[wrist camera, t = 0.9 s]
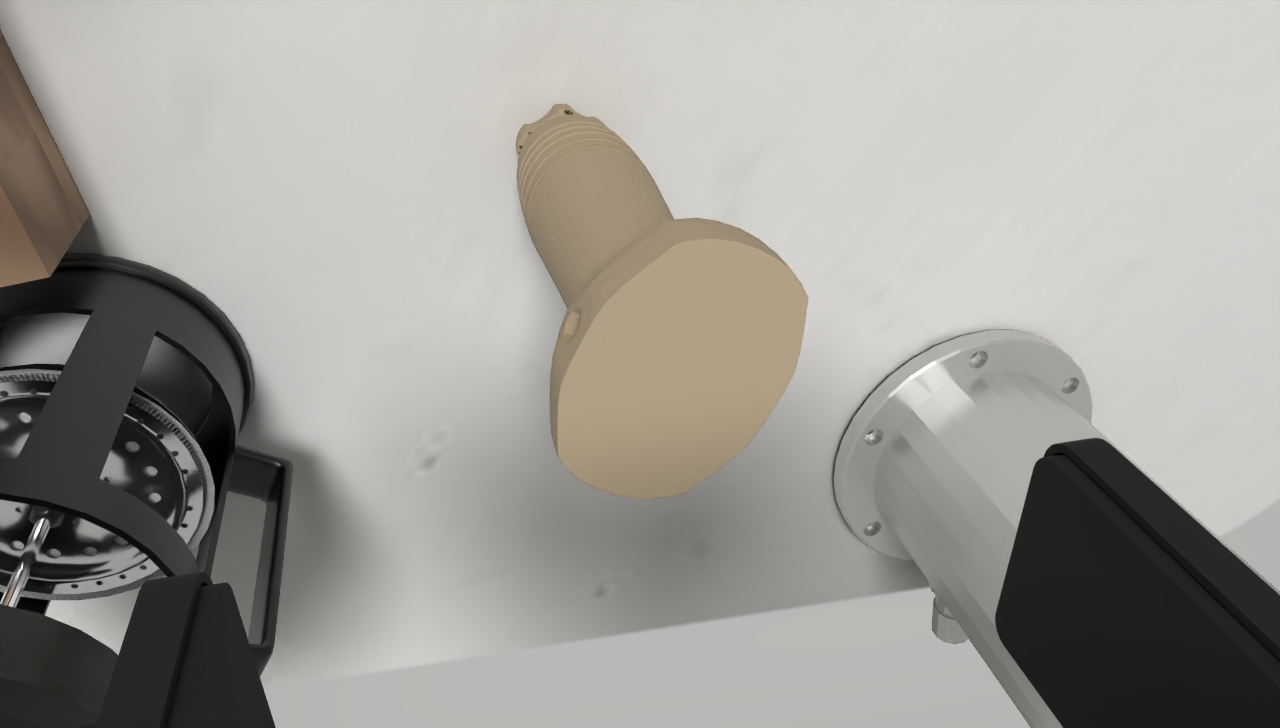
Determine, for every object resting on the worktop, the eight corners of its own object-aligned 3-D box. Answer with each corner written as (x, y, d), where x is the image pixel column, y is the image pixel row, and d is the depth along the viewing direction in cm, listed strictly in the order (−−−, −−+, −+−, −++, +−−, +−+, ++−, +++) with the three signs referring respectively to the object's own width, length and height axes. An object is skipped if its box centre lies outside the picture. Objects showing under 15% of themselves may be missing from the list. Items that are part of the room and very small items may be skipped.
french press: (-108, 436, 32) (-816, 1416, 13) (-40, 198, 28) (-860, 1040, 9) (247, 523, 37) (122, 1308, 18) (339, 330, 34) (304, 1043, 15)
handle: (663, 91, 32) (850, 288, 20) (581, 252, 34) (702, 518, 22) (535, 28, 30) (655, 204, 17) (457, 204, 32) (514, 468, 20)
